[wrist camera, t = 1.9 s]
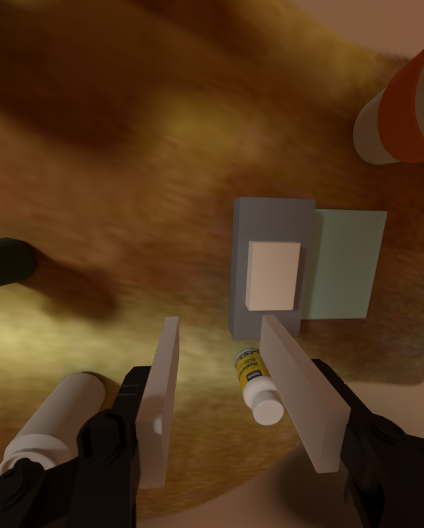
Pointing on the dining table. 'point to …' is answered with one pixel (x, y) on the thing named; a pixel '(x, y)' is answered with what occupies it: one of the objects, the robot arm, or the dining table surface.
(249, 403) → the supplement bottle
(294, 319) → the board
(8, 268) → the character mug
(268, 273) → the beige rectangular block
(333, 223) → the mat
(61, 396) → the can
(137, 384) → the robot arm
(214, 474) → the dining table surface
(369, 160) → the reusable coffee cup
